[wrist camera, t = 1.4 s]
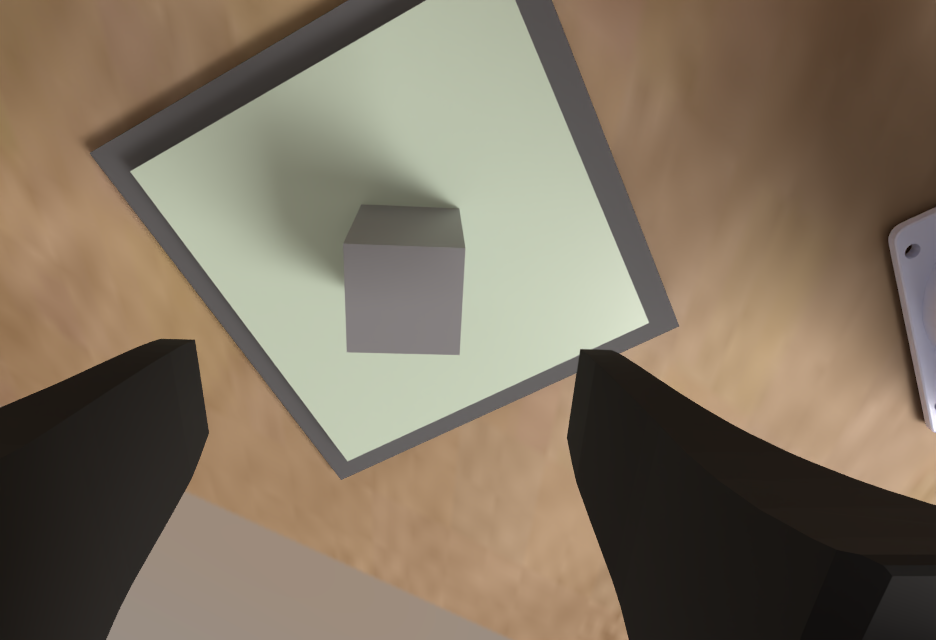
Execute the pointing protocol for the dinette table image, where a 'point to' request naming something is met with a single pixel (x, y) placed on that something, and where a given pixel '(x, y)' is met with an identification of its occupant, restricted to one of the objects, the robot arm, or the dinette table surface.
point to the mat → (345, 24)
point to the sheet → (407, 151)
